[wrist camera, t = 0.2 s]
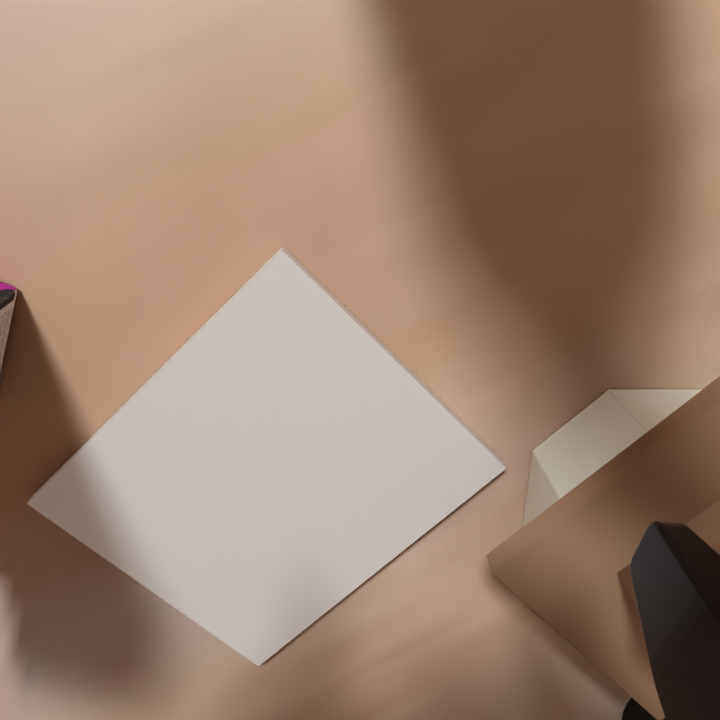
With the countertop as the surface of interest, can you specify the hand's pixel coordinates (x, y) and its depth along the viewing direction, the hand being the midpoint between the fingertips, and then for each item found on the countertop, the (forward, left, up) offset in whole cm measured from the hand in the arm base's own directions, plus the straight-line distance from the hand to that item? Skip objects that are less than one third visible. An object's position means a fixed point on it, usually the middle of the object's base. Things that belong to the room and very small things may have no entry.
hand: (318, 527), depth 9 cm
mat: (-8, -5, -15) cm, 18 cm away
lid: (+2, -16, -11) cm, 20 cm away
